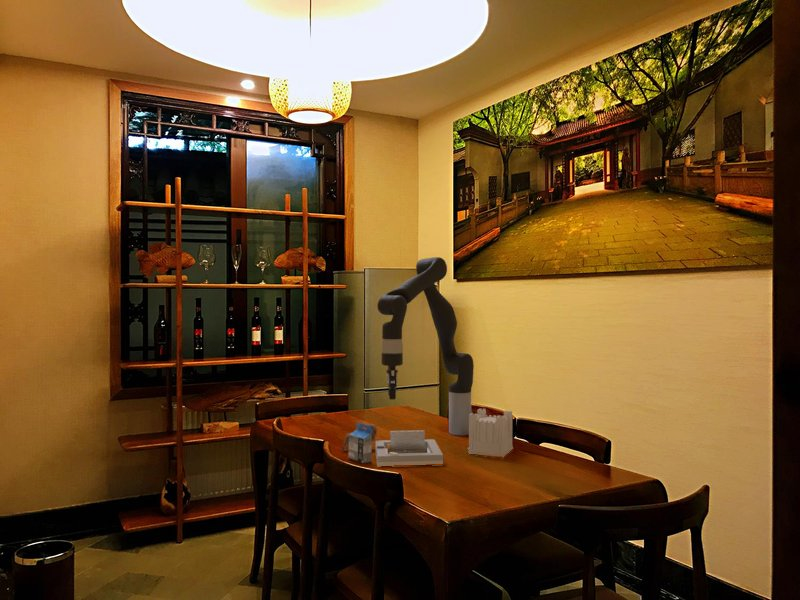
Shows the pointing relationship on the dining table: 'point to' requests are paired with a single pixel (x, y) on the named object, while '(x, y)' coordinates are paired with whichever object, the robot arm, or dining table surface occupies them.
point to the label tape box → (360, 444)
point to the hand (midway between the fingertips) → (391, 397)
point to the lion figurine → (373, 429)
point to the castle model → (490, 434)
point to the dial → (407, 442)
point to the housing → (408, 455)
